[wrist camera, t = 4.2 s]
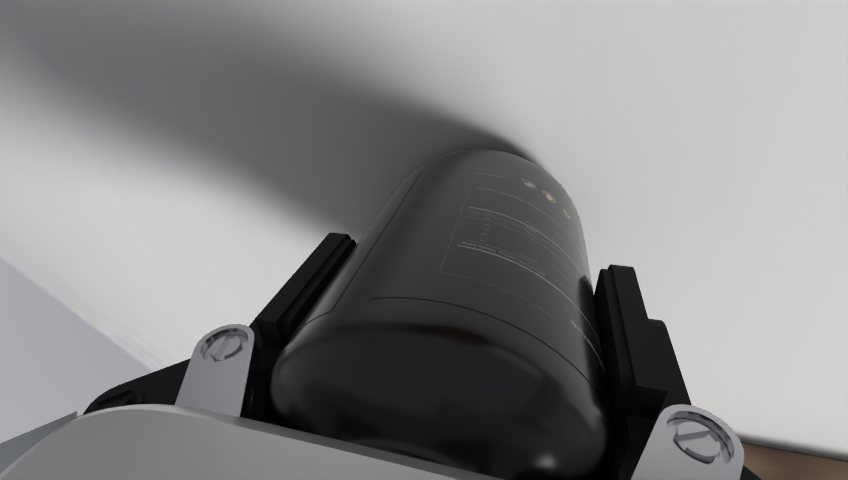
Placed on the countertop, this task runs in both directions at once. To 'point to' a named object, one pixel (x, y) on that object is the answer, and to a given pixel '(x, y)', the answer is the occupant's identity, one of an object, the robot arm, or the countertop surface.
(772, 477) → the walnut board
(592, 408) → the supplement bottle
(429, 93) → the countertop surface
